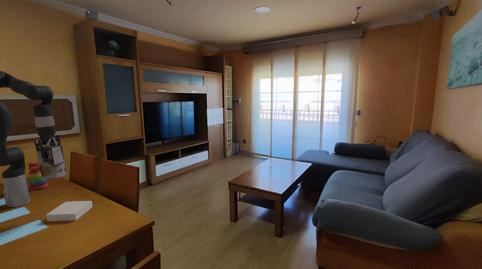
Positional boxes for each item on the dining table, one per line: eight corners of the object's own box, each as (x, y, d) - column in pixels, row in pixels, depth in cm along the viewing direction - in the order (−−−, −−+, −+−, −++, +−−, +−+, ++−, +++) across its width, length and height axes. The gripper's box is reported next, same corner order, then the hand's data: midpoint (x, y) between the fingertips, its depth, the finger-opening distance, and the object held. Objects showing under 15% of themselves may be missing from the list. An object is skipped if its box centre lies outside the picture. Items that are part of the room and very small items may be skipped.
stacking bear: (25, 191, 148) (20, 165, 145) (32, 186, 157) (27, 161, 154) (45, 188, 152) (41, 163, 149) (51, 183, 161) (47, 159, 158)
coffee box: (67, 174, 123) (62, 145, 120) (56, 178, 116) (51, 148, 114) (52, 174, 124) (47, 145, 121) (40, 178, 117) (35, 148, 115)
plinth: (47, 222, 113) (45, 214, 112) (66, 208, 126) (65, 201, 126) (76, 221, 114) (75, 213, 113) (92, 207, 127) (91, 200, 127)
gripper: (48, 123, 122) (53, 153, 125) (25, 127, 108) (31, 160, 111) (63, 123, 123) (67, 152, 125) (41, 127, 108) (47, 160, 111)
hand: (51, 156), depth 118 cm, fingers closed on coffee box, 7 cm apart
